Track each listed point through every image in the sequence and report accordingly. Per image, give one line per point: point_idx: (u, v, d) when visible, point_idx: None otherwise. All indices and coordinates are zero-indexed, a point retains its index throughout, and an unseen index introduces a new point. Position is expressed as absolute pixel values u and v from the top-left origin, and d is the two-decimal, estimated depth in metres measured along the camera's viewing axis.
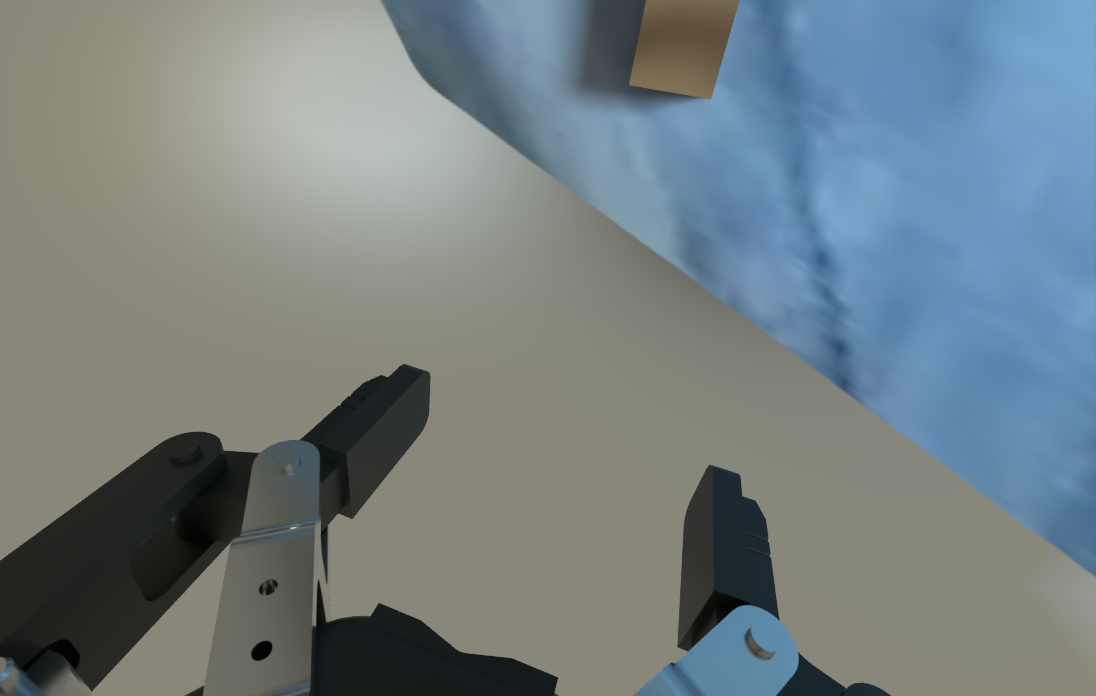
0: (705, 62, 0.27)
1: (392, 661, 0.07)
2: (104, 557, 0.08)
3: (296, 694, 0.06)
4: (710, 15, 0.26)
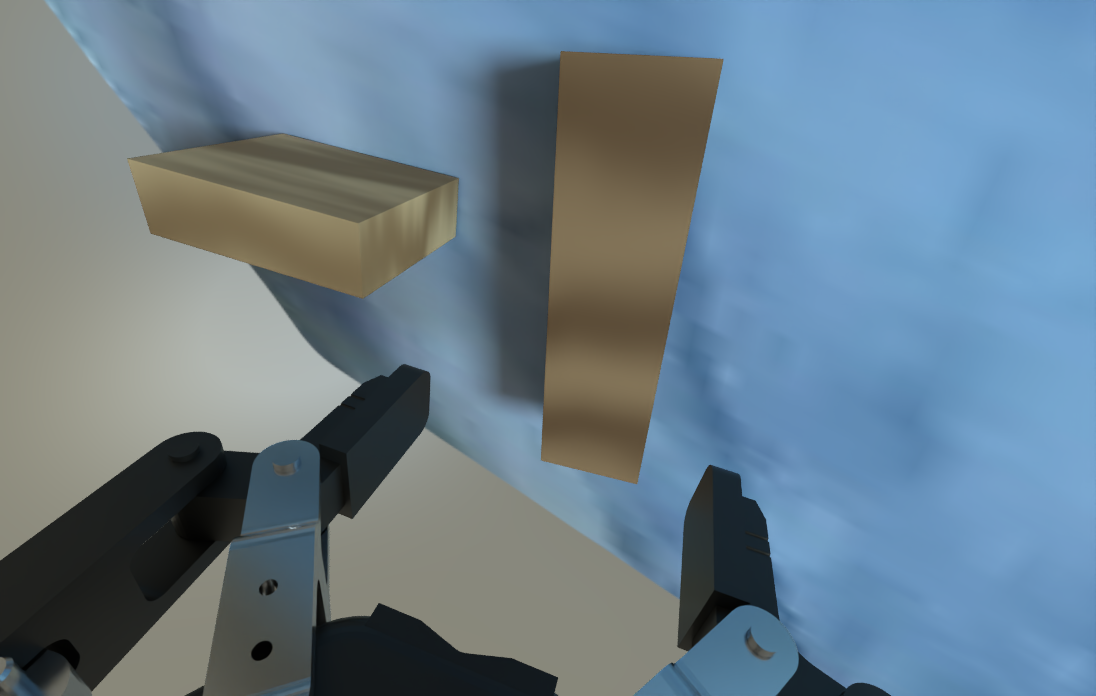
0: (624, 453, 0.23)
1: (392, 661, 0.07)
2: (104, 557, 0.08)
3: (296, 694, 0.06)
4: (621, 416, 0.22)
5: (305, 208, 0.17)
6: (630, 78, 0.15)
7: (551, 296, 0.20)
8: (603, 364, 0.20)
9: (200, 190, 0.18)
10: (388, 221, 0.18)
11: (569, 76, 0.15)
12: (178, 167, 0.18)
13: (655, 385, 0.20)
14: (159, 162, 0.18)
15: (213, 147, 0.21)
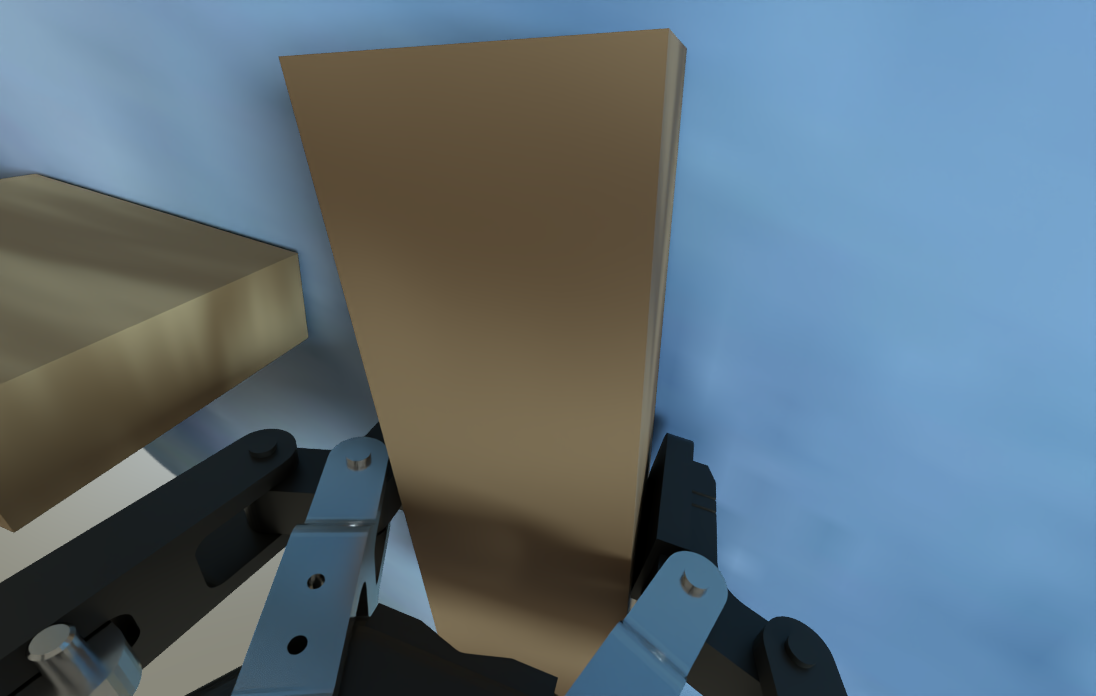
0: None
1: (392, 661, 0.07)
2: (173, 542, 0.08)
3: None
4: (570, 687, 0.12)
5: None
6: (445, 104, 0.06)
7: (408, 513, 0.10)
8: (523, 616, 0.11)
9: None
10: (71, 376, 0.09)
11: (315, 113, 0.06)
12: None
13: None
14: None
15: None
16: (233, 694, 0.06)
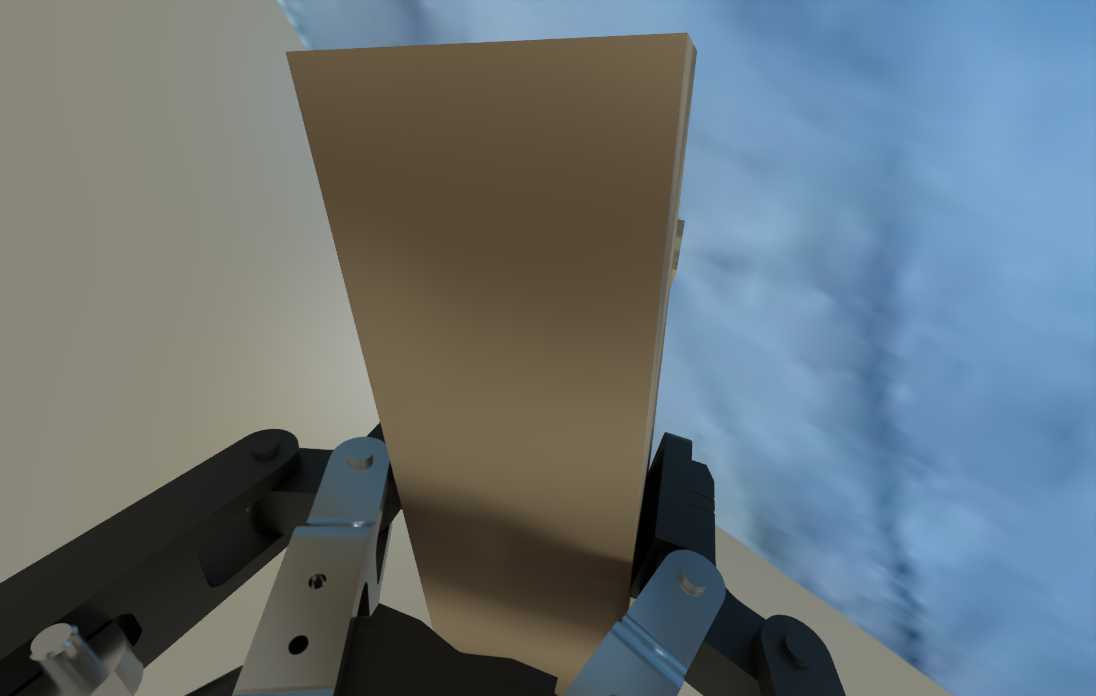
0: None
1: (392, 661, 0.07)
2: (175, 541, 0.08)
3: None
4: (567, 689, 0.12)
5: None
6: (456, 105, 0.06)
7: (407, 514, 0.10)
8: (521, 618, 0.11)
9: None
10: None
11: (322, 110, 0.06)
12: None
13: None
14: None
15: None
16: (234, 694, 0.06)
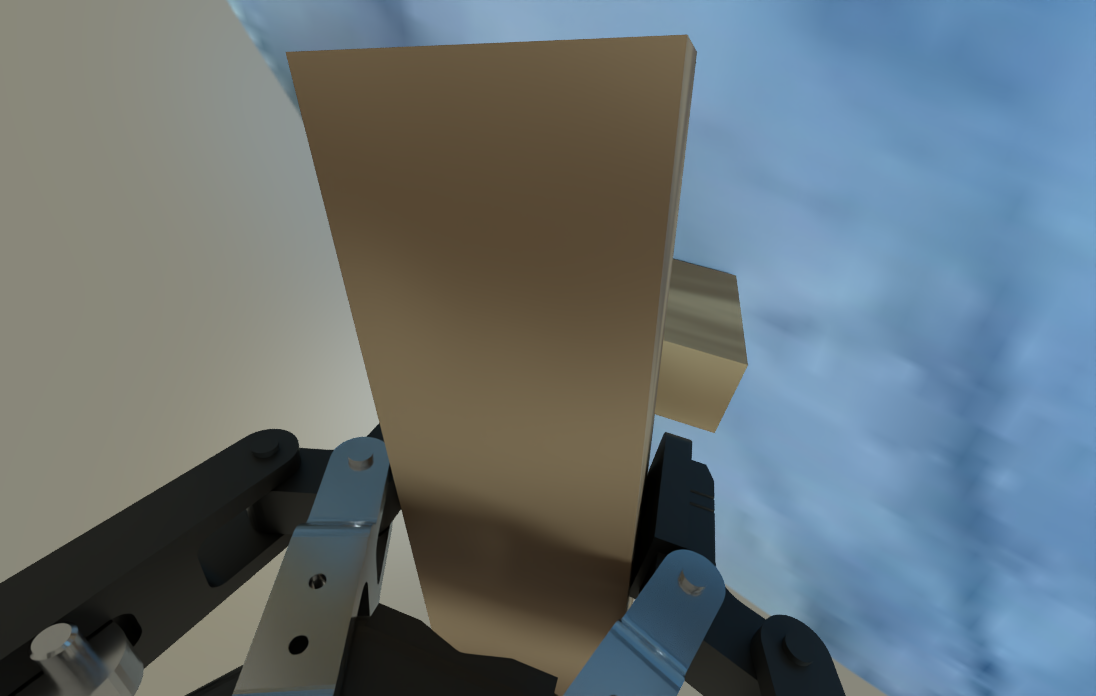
0: None
1: (392, 661, 0.07)
2: (175, 542, 0.08)
3: None
4: (565, 689, 0.12)
5: (682, 345, 0.15)
6: (456, 105, 0.06)
7: (406, 514, 0.10)
8: (520, 618, 0.11)
9: None
10: None
11: (322, 111, 0.06)
12: None
13: None
14: None
15: None
16: (234, 693, 0.06)
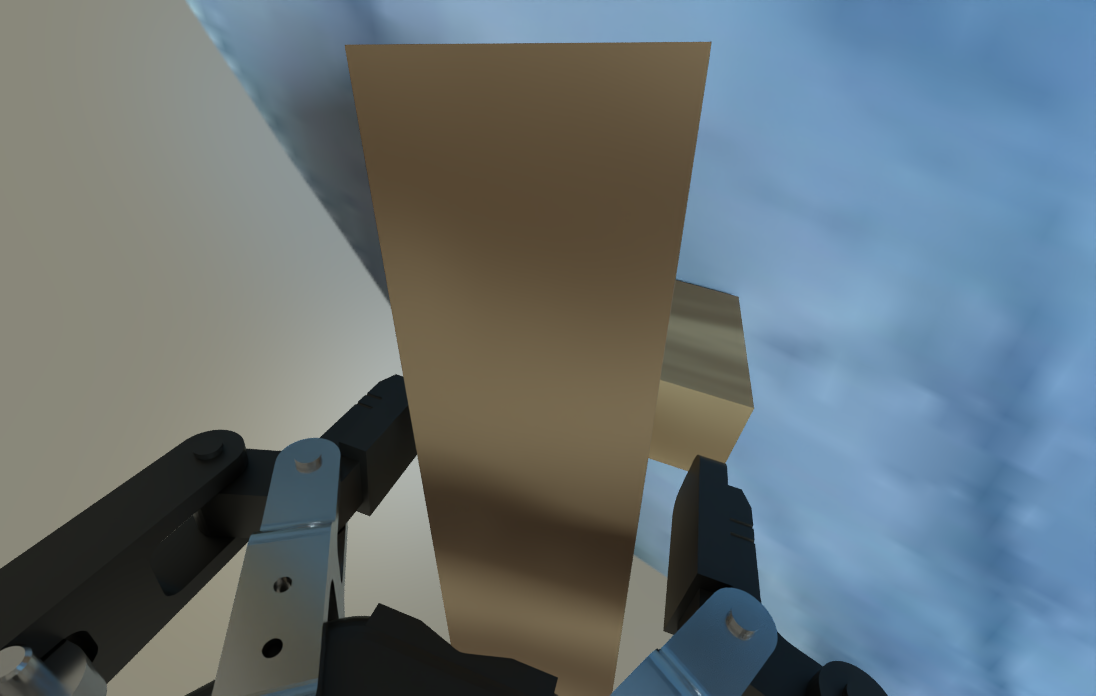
0: None
1: (392, 661, 0.07)
2: (125, 551, 0.08)
3: (303, 694, 0.06)
4: (568, 653, 0.13)
5: (679, 385, 0.14)
6: (499, 98, 0.06)
7: (426, 482, 0.11)
8: (528, 584, 0.12)
9: None
10: None
11: (374, 99, 0.07)
12: None
13: (619, 623, 0.12)
14: None
15: None
16: None
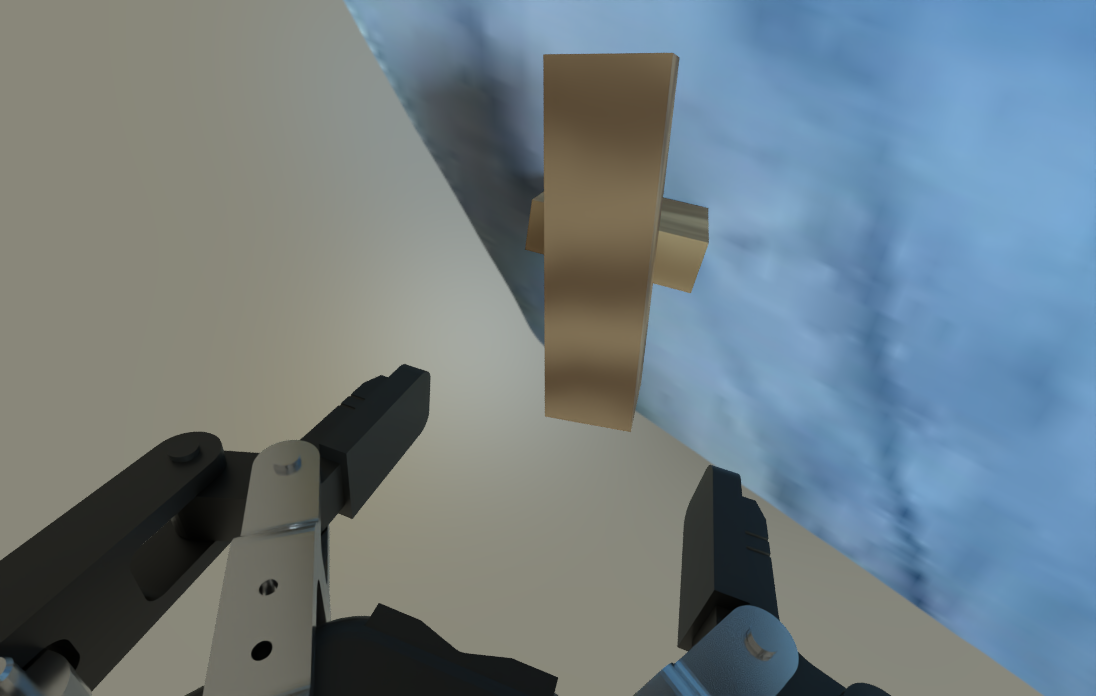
0: (617, 403, 0.26)
1: (392, 661, 0.07)
2: (104, 557, 0.08)
3: (296, 694, 0.06)
4: (612, 368, 0.25)
5: (669, 233, 0.25)
6: (600, 72, 0.18)
7: (546, 263, 0.23)
8: (593, 321, 0.24)
9: None
10: None
11: (551, 74, 0.19)
12: None
13: (639, 337, 0.23)
14: None
15: None
16: None
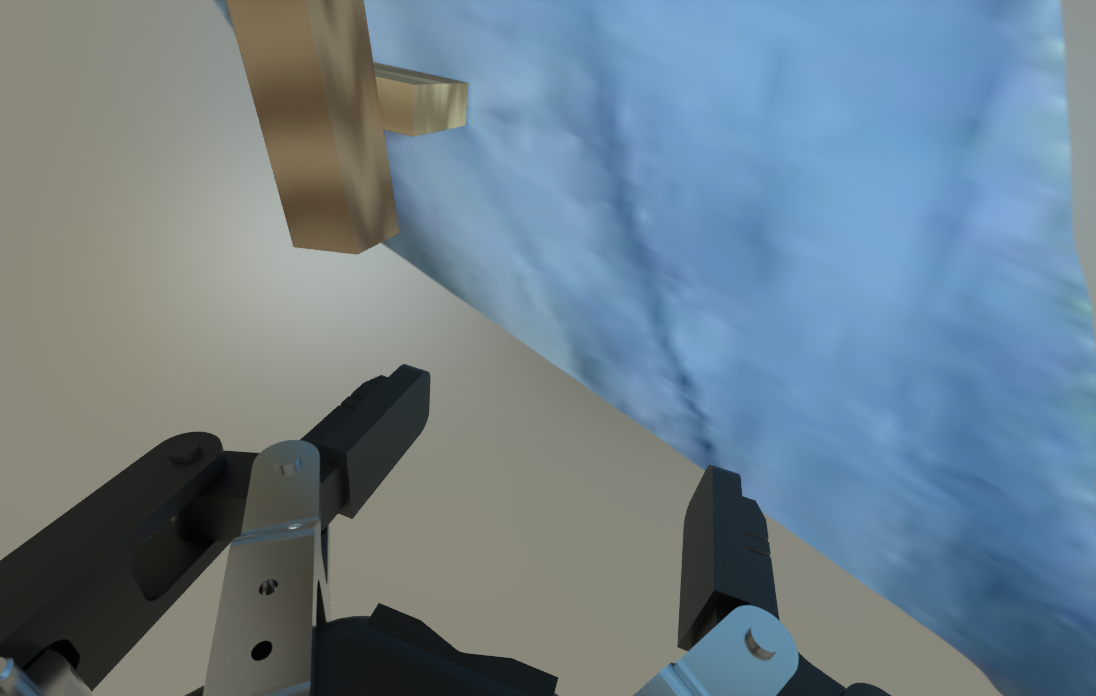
0: (340, 226, 0.30)
1: (392, 661, 0.07)
2: (104, 557, 0.08)
3: (296, 694, 0.06)
4: (326, 189, 0.29)
5: (383, 78, 0.30)
6: None
7: (251, 87, 0.27)
8: (300, 143, 0.28)
9: None
10: (428, 92, 0.31)
11: None
12: None
13: (336, 154, 0.28)
14: None
15: None
16: None
